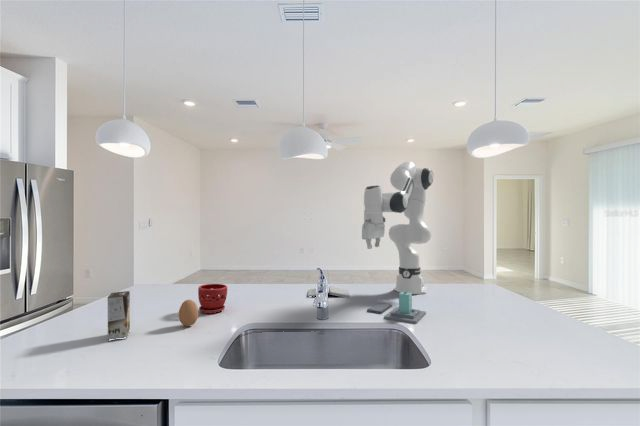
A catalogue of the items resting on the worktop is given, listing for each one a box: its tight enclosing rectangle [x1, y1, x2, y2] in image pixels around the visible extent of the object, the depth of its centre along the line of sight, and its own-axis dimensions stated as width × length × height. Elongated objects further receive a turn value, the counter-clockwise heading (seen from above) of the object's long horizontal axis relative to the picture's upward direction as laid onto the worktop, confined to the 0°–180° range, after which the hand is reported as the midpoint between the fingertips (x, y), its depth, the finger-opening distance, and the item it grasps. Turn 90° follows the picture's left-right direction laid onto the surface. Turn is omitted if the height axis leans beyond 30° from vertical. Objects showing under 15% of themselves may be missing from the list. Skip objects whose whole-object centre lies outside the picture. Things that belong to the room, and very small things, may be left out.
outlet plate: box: [383, 306, 427, 325], centre depth 153 cm, size 16×14×2 cm
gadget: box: [307, 285, 350, 298], centre depth 195 cm, size 23×15×4 cm, turn 90°
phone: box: [366, 302, 393, 315], centre depth 165 cm, size 7×14×1 cm, turn 149°
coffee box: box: [107, 290, 131, 340], centre depth 130 cm, size 9×6×16 cm
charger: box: [398, 292, 413, 314], centre depth 153 cm, size 4×4×9 cm
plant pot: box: [197, 283, 228, 314], centre depth 163 cm, size 13×13×12 cm
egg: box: [178, 299, 199, 327], centre depth 142 cm, size 8×8×11 cm
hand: (373, 247), depth 166 cm, fingers open, 8 cm apart
